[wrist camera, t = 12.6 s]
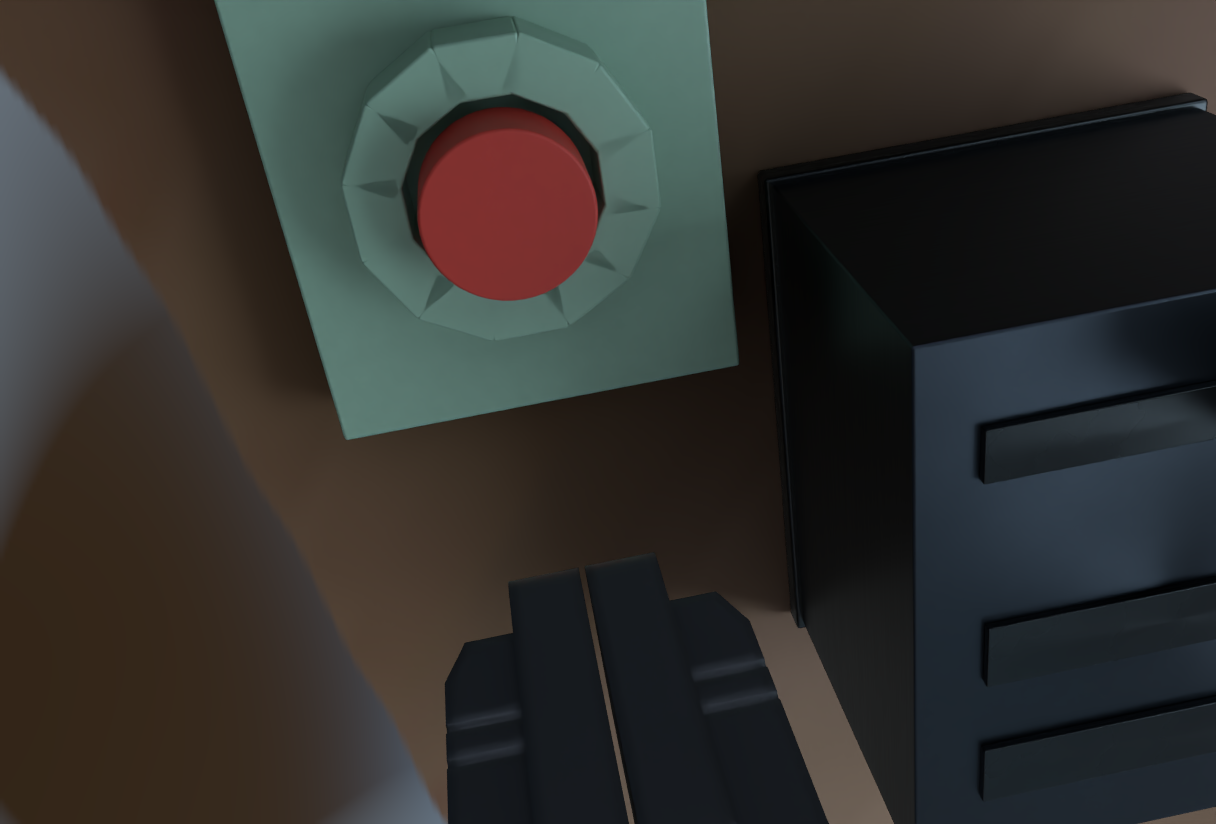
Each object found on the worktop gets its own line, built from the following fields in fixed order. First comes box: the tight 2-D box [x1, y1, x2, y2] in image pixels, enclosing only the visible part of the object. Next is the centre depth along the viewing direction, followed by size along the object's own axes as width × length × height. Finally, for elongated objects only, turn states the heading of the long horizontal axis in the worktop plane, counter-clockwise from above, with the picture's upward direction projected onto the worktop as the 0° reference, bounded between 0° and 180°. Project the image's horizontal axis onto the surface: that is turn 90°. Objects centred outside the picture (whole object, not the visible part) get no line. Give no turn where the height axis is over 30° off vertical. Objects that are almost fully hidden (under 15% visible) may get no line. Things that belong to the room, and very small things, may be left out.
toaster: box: [758, 93, 1216, 824], centre depth 28 cm, size 14×11×10 cm
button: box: [417, 107, 598, 301], centre depth 23 cm, size 4×4×2 cm
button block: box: [214, 0, 739, 440], centre depth 26 cm, size 12×10×4 cm
